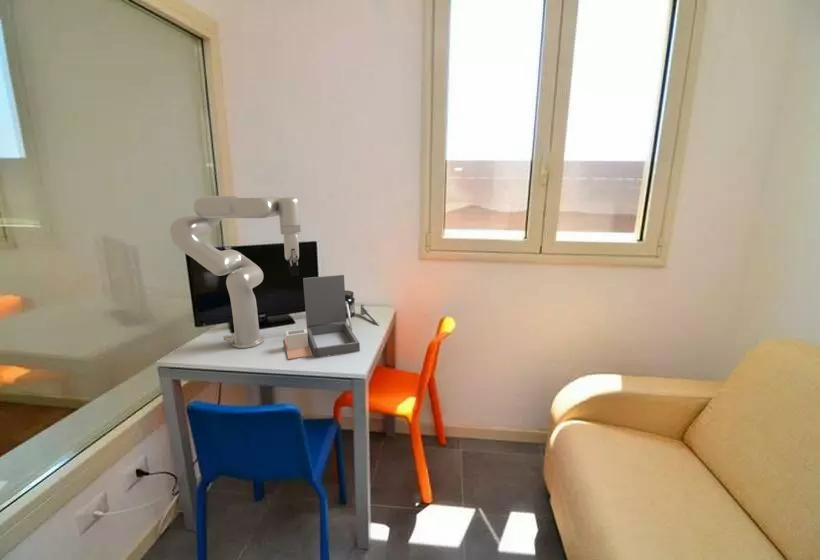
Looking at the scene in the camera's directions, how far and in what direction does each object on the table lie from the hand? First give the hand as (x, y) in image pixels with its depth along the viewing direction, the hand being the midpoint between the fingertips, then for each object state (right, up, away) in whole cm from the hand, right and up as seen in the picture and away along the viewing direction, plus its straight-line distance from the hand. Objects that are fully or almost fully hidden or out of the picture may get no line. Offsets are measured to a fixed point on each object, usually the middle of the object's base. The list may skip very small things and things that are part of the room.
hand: (294, 273), depth 158 cm
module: (0, -30, +4) cm, 30 cm away
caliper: (+26, -22, +37) cm, 51 cm away
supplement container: (+13, -21, +43) cm, 50 cm away
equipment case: (+13, -29, +9) cm, 33 cm away
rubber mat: (0, -30, +4) cm, 30 cm away
